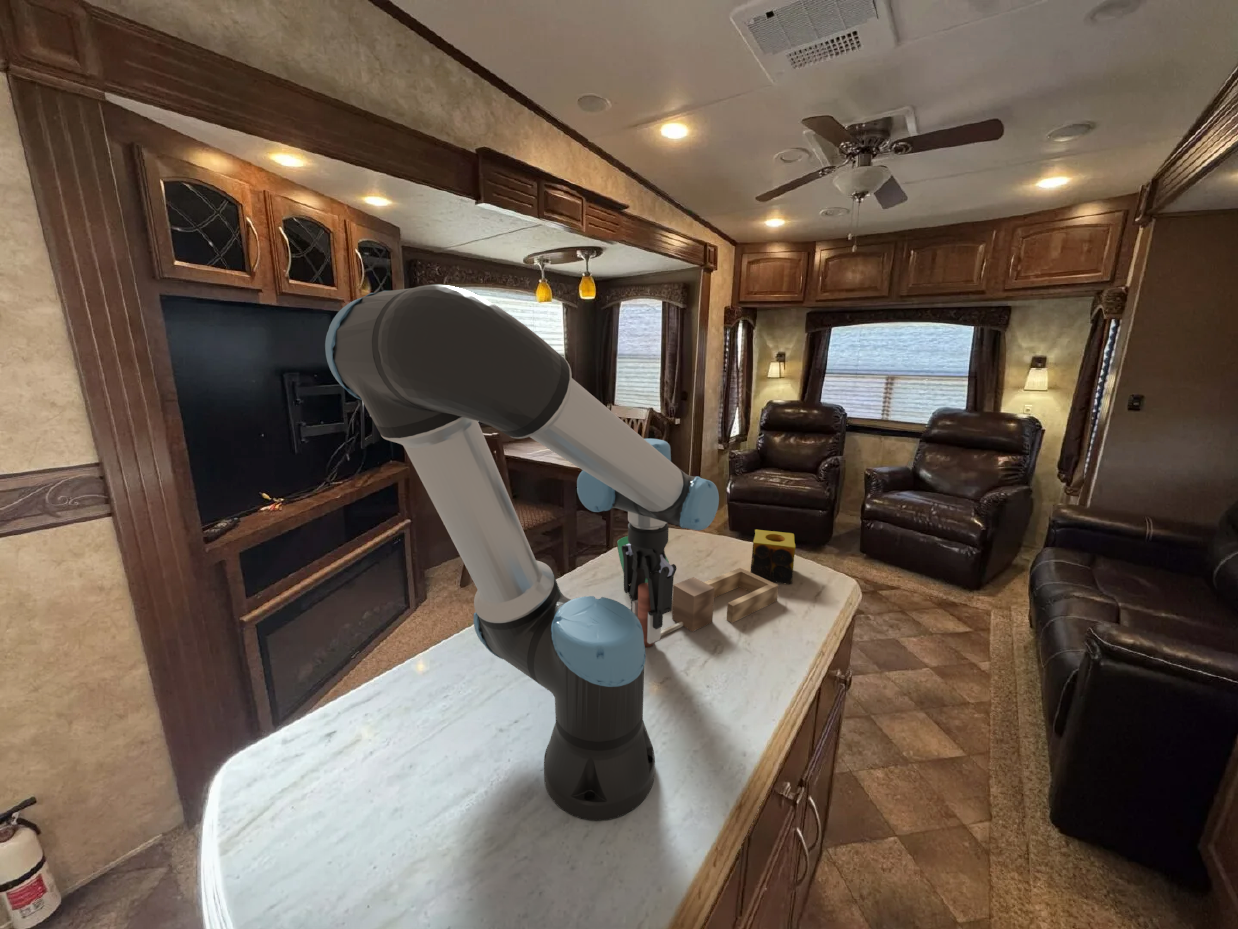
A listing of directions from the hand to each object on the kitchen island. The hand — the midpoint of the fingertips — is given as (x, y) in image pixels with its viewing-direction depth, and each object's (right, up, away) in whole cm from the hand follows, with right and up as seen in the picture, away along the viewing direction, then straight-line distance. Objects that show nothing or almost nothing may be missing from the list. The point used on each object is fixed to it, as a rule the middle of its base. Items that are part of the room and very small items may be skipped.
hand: (646, 634), depth 95 cm
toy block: (+34, +5, +30) cm, 45 cm away
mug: (+1, +4, +24) cm, 24 cm away
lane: (+21, +2, +15) cm, 26 cm away
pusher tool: (+6, -1, +5) cm, 7 cm away
